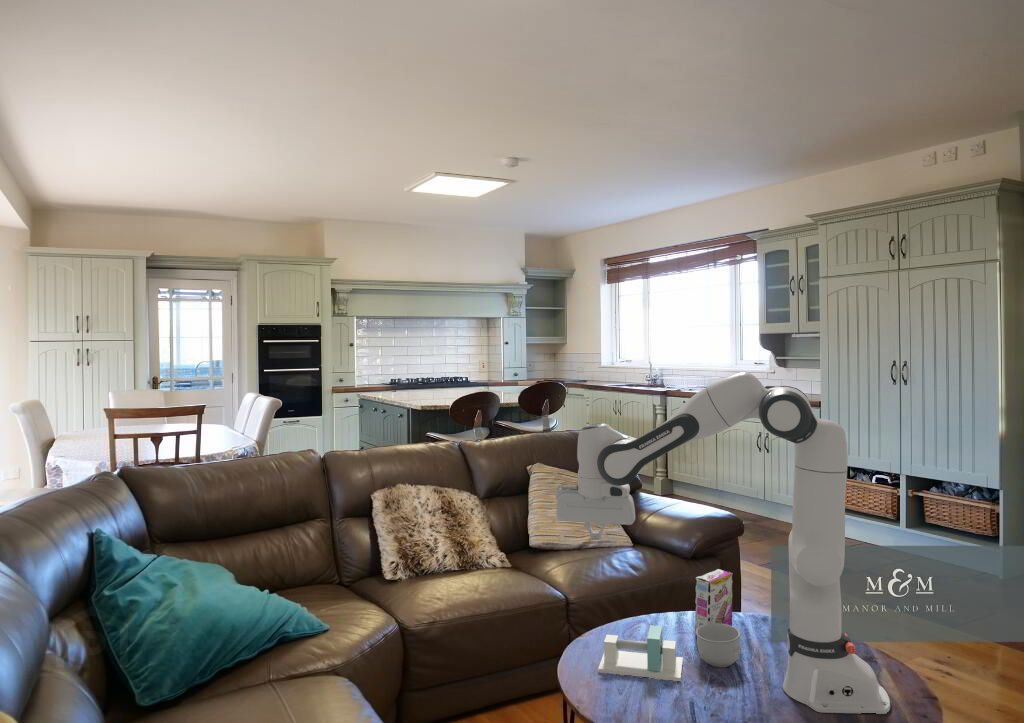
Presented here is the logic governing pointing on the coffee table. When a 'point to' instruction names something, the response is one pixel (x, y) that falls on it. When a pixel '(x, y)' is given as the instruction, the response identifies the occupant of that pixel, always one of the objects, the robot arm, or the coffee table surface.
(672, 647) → the pipe stand
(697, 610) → the candy bar box
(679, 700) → the coffee table surface
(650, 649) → the collar
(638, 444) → the robot arm
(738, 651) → the teacup
